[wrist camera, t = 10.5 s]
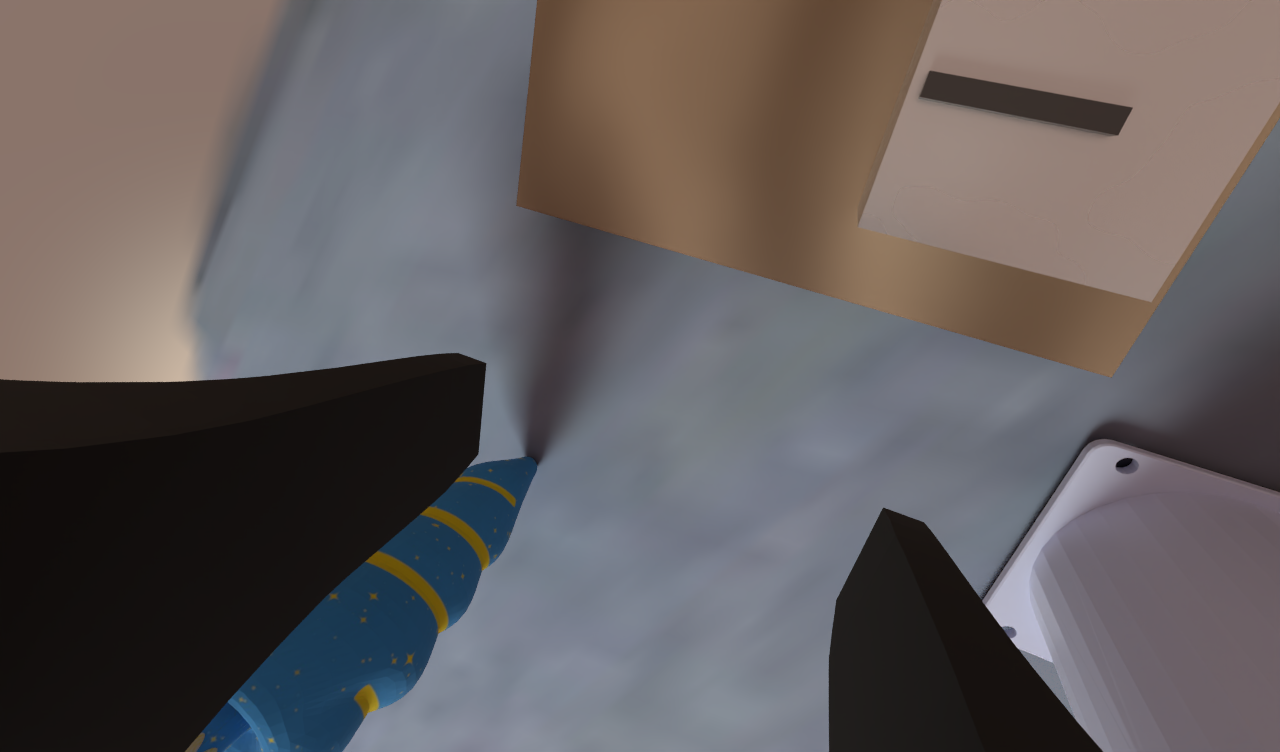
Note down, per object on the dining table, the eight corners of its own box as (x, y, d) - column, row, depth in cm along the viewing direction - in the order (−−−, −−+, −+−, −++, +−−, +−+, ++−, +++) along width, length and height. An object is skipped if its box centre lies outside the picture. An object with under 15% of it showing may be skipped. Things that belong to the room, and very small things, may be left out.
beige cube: (1182, 28, 12) (1397, -60, 7) (1058, 256, 14) (1160, 306, 9) (936, -9, 13) (981, -105, 8) (857, 207, 15) (857, 228, 10)
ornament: (537, 528, 26) (203, 913, 12) (461, 449, 26) (45, 753, 12) (603, 471, 23) (270, 879, 10) (518, 383, 23) (72, 677, 10)
